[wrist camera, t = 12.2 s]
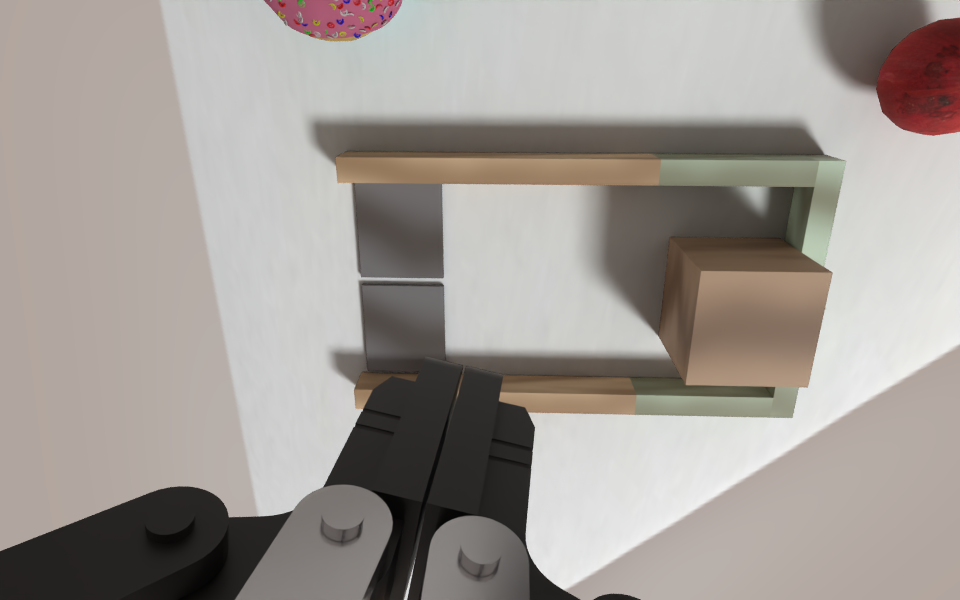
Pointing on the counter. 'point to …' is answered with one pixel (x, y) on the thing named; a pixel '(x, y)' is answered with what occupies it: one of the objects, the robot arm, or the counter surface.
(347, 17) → the cupcake
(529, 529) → the counter surface
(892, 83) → the onion
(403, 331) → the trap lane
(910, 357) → the counter surface
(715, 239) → the walnut block
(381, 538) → the robot arm
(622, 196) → the counter surface
